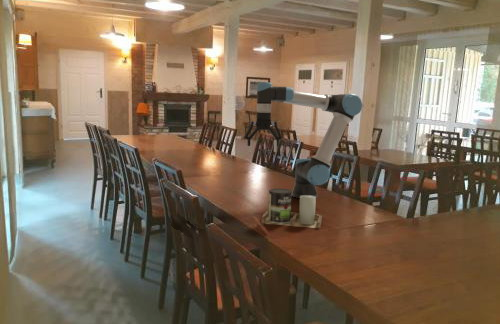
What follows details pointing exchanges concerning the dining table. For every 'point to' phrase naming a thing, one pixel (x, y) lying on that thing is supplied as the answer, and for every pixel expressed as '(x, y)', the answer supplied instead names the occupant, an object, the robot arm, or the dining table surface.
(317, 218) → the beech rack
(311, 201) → the sage jar
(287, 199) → the coffee can
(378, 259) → the dining table surface
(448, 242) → the dining table surface
